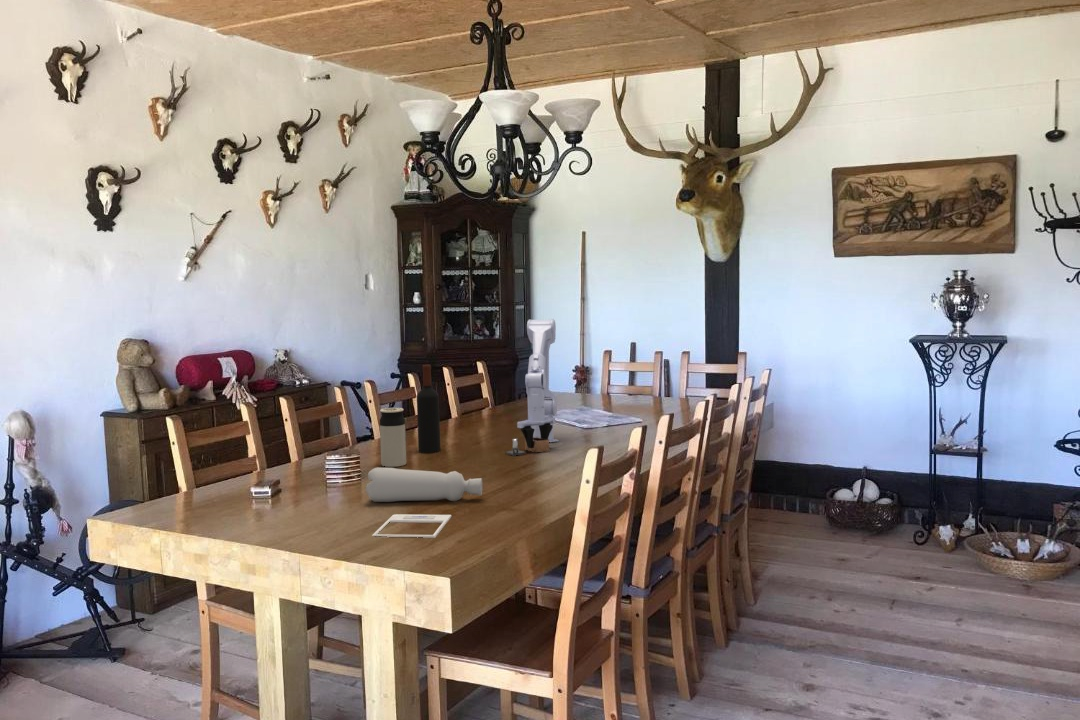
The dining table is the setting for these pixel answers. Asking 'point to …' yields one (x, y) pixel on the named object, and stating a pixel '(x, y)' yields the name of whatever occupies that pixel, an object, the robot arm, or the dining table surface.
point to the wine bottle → (428, 415)
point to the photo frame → (415, 518)
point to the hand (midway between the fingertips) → (537, 446)
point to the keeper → (515, 449)
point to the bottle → (418, 485)
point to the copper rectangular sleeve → (538, 445)
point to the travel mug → (392, 437)
